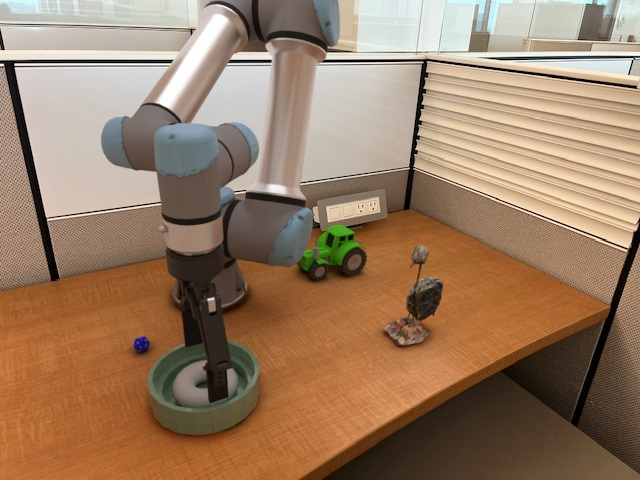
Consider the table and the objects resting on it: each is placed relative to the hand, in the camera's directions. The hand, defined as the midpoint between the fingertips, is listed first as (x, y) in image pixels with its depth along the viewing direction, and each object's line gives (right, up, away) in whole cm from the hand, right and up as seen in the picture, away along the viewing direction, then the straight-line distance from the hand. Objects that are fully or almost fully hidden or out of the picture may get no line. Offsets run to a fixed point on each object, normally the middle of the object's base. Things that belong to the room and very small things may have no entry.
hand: (205, 369), depth 73 cm
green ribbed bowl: (0, -5, +2) cm, 5 cm away
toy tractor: (+20, +13, +42) cm, 48 cm away
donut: (0, -4, +2) cm, 5 cm away
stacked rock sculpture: (+35, +2, +20) cm, 40 cm away
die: (-14, 0, +12) cm, 18 cm away
